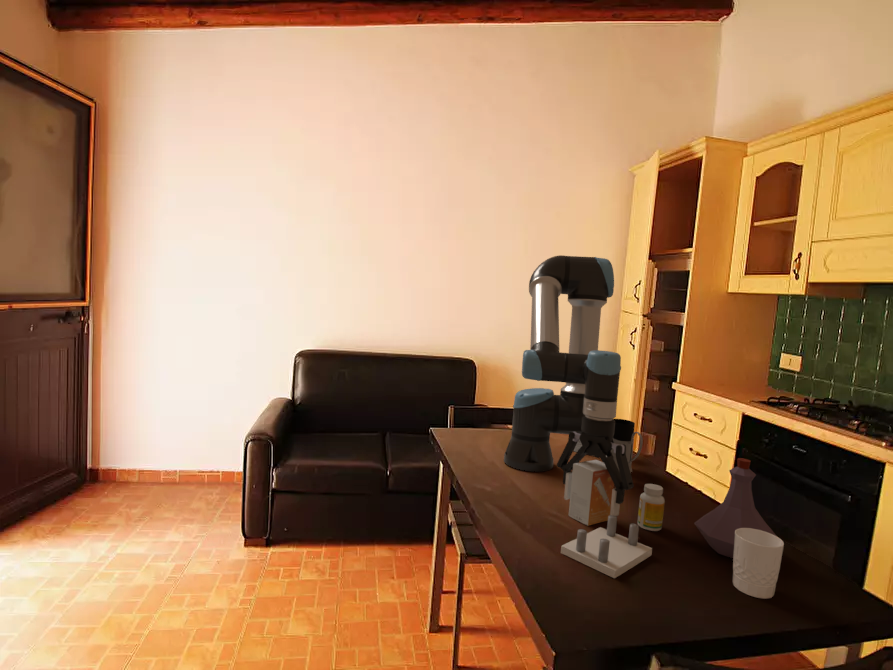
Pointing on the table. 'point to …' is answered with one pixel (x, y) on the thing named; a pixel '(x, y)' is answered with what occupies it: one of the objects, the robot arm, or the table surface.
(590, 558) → the pin tray
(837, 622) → the table surface
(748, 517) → the flask
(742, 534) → the white cup
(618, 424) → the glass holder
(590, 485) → the small box
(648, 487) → the supplement bottle
